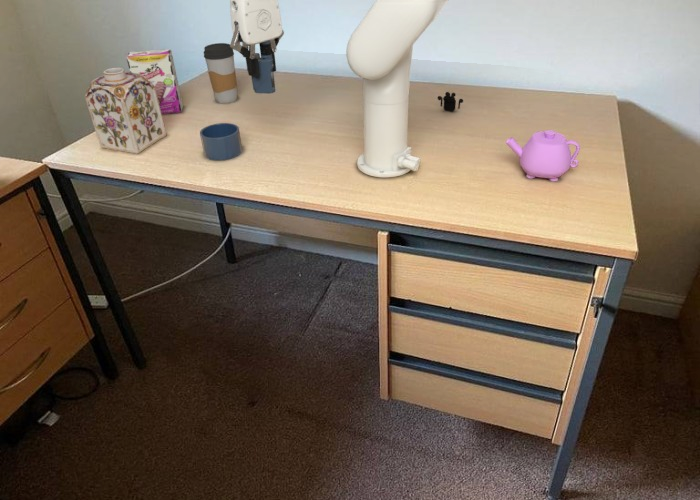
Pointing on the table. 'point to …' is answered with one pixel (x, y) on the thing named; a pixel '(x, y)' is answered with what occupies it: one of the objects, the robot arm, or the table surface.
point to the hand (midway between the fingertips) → (262, 72)
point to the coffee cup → (221, 71)
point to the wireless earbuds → (449, 101)
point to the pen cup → (221, 141)
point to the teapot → (545, 154)
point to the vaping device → (264, 70)
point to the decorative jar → (125, 111)
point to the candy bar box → (159, 76)
